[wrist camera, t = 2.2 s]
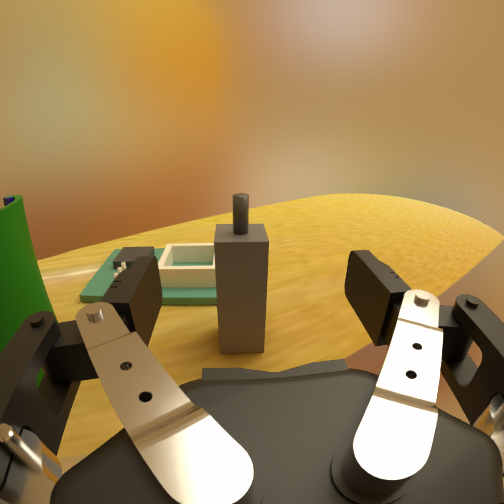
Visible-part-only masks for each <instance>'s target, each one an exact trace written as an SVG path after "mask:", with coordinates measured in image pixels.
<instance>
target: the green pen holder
mask: <svg viewBox="0 0 504 504" xmlns="http://www.w3.org/2000/svg"><path fill="white" fill-rule="evenodd" d="M3 200H4V205H5V207H3V208H1V209H0V354H1V353H2V351H3V350H4V348H5V347H6V345H7V344H8V342H9V341H10V339H11V338H12V337H13V335H14V334H15V332H16V331H17V330H18V328H19V327H20V325H21V324H22V323H23V321H24V320H25V319H26V318H27V317H29V316H30V315H32V314H34V313H36V312H39V311H50V312H52V313H53V314H54V311H53V308H52V306H51V303H50V300H49V298H48V295H47V292H46V289H45V286H44V283H43V280H42V277H41V274H40V270H39V267H38V264H37V260H36V257H35V253H34V250H33V245H32V241H31V237H30V233H29V229H28V224H27V220H26V215H25V210H24V204H23V199H22V196H21V195H12V196H7V197H5V198H3ZM54 315H55V314H54ZM55 318H56V316H55ZM56 320H57V319H56ZM57 323H58V321H57ZM44 374H45V373H44V371H43V370H42V368H41V369H40V371H39V372H38V375H37V379H36V383H37V388H38V387H39V384H40V382H41V380H42V378H43V376H44Z"/></svg>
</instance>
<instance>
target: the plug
mask: <svg viewBox="0 0 504 504" xmlns="http://www.w3.org/2000/svg"><path fill="white" fill-rule="evenodd" d="M248 204H249V195H248V194H243V193H239V194H234V195H233V224H216V231H215V238H214V255H215V276H216V295H217V312H218V327H219V342H220V353H259V352H264V339H265V319H266V298H267V276H268V252H269V240H268V237H267V234H266V231H265V227H264V224H248V207H249V205H248Z"/></svg>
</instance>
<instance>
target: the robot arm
mask: <svg viewBox="0 0 504 504" xmlns="http://www.w3.org/2000/svg"><path fill="white" fill-rule="evenodd" d="M345 295H346V298H347V299H348V301H349V303H350V304H351V306H352V308H353V309H354V311H355V312H356V314H357V316H358V317H359V319H360V321H361V322H362V324H363V326H364V327H365V329H366V331H367V333H368V334H369V336H370V338H371V339H372V341H373V343H374V344H375V346H381V345H388V349H387V352H386V355H385V357H384V361H383V363H382V366H381V369H380V371H379V375H376V374H373V373H370V372H367V371H363V370H359V369H351V368H348V367H347V364H346V362H345V360H344V359H338V360H330V361H322V362H313V363H309V364H305V365H302V366H299V367H295V368H292V369H288V370H285V371H281V372H266V371H259V370H251V369H244V368H203V370H202V379H197V380H194V381H190V382H187V383H185V384H182V385H180V386H178V385H177V384H176V383H175V382H174V381H173V379H172V378H171V377H170V376H169V374H168V373H167V372H166V371H165V369H164V368H163V367H162V366H161V364H160V363H159V362H158V361H157V359H156V358H155V357H154V355H153V354H152V353H151V351H150V350H149V349H148V344H149V341H150V338H151V335H152V332H153V329H154V326H155V323H156V320H157V317H158V314H159V311H160V308H161V305H162V298H163V294H162V286H161V280H160V274H159V267H158V261H157V258H156V256H138V257H137V258H136V260H135V261H134V263H133V264H132V266H131V267H130V268H126V269H124V270H123V271H122V272H120V273H119V274H118V275H117V276H116V277H115V279H114V280H113V282H112V283H111V285H110V288H108V289H107V291H106V292H105V294H104V295H103V297H102V299H101V300H100V302H96V303H92V304H89V305H86V306H84V307H83V308H81V309H80V310H79V311H78V313H77V314H76V320H73V321H67V322H61V323H57V320H56V318H55V315H54V314H53V313H52V312H50V311H39V312H36V313H34V314H32V315H30V316H29V317H27V318H26V319H25V320H24V321H23V323H22V324H21V325H20V327H19V328H18V330H17V331H16V332H15V334H14V335H13V337H12V338H11V339H10V341H9V342H8V344H7V345H6V347H5V348H4V350H3V351H2V353H1V354H0V504H504V488H503V477H504V323H503V322H502V321H501V320H500V319H499V318H498V317H497V316H496V315H495V314H494V313H493V312H492V311H491V310H490V309H489V308H488V307H487V306H486V305H485V304H484V303H483V302H482V301H481V300H480V299H478V298H476V297H474V296H471V295H467V294H462V295H459V296H457V298H456V301H455V303H454V306H443V305H439V301H438V299H437V298H436V297H435V296H434V295H432V294H431V293H429V292H426V291H423V290H412V289H411V288H410V287H409V286H408V285H407V284H406V283H405V282H404V281H403V280H402V279H401V278H399V276H398V275H397V274H396V273H395V272H394V271H393V270H392V269H391V268H390V267H389V266H388V265H386V264H385V263H383V262H381V261H379V260H378V259H377V258H376V257H375V256H374V255H373V254H372V253H371V252H370V251H369V250H358V251H351V252H350V254H349V259H348V266H347V273H346V279H345ZM473 340H474V342H475V343H476V344H477V345H478V347H479V348H480V349H481V351H482V362H481V364H480V366H479V368H478V367H477V366H476V365H475V363H474V362H473V360H472V359H471V358H470V356H469V355H468V353H467V352H468V350H469V348H470V346H471V344H472V342H473ZM41 368H42V370H43V371H44V373H45V374H44V376H43V378H42V380H41V382H40V384H39V387H38V388H37V383H36V379H37V375H38V372H39V371H40V369H41ZM440 372H441V373H442V375H443V377H444V378H445V380H446V382H447V383H448V385H449V387H450V388H451V390H452V392H453V393H454V395H455V397H456V398H457V400H458V402H459V404H460V406H461V408H462V409H463V411H464V413H465V415H466V417H467V418H468V420H469V422H470V424H471V425H469V424H467V423H466V422H463V421H462V420H460V419H458V418H456V417H454V416H452V415H450V414H448V413H446V412H444V411H442V410H441V409H439V408H437V407H436V405H435V402H436V396H437V389H438V382H439V374H440ZM96 378H99V379H100V381H101V383H102V385H103V387H104V389H105V391H106V394H107V396H108V398H109V400H110V401H111V403H112V405H113V407H114V409H115V411H116V413H117V415H118V417H119V418H120V420H121V422H122V424H123V426H124V428H123V429H122V430H121V431H119V432H118V433H117V434H116V435H114V436H113V437H112V438H110V439H109V440H108V441H107V442H105V443H104V444H103V445H101V446H100V447H99V448H97V449H96V450H95V451H93V452H92V453H91V454H89V455H88V456H87V457H86V458H84V459H83V460H82V461H80V462H79V463H77V464H76V465H75V466H73V467H72V468H71V469H69V470H68V471H67V472H65V473H64V474H63V475H62V468H61V463H60V461H59V460H58V458H57V457H56V456H57V452H58V449H59V445H60V442H61V439H62V435H63V432H64V429H65V426H66V423H67V420H68V416H69V413H70V410H71V408H72V405H73V402H74V399H75V396H76V393H77V391H78V388H79V385H80V383H81V381H82V380H89V379H96ZM61 475H62V476H61Z"/></svg>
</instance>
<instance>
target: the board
mask: <svg viewBox="0 0 504 504" xmlns="http://www.w3.org/2000/svg"><path fill="white" fill-rule="evenodd" d="M138 256H156V258H157V261H158V267H159V274H160V280H161V286H162V294H163V298H162V305H217V295H216V276H215V255H214V243H191V244H167V246H166V248H162V249H154V247H123V249H115V250H114V251H113V252H112V254H111V255H110V256H109V257H108V259H107V260H106V261H105V262H104V264H103V265H102V266H101V267H100V269H99V270H98V271H97V273H96V274H95V275H94V276H93V278H92V279H91V280H90V282H89V283H88V284H87V286H86V287H85V288H84V290H83V291H82V292H81V294H80V295H79V296H80V299H81V302H91V303H96V302H100V300H101V299H102V297H103V295H104V294H105V292H106V291H107V289H108V288H110V285H111V283H112V282H113V280H114V279H115V277H116V276H117V275H118V274H119V273H120V272H122V271H123V270H124V269H126V268H130V267H131V266H132V264H133V263H134V261H135V260H136V258H137V257H138Z"/></svg>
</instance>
